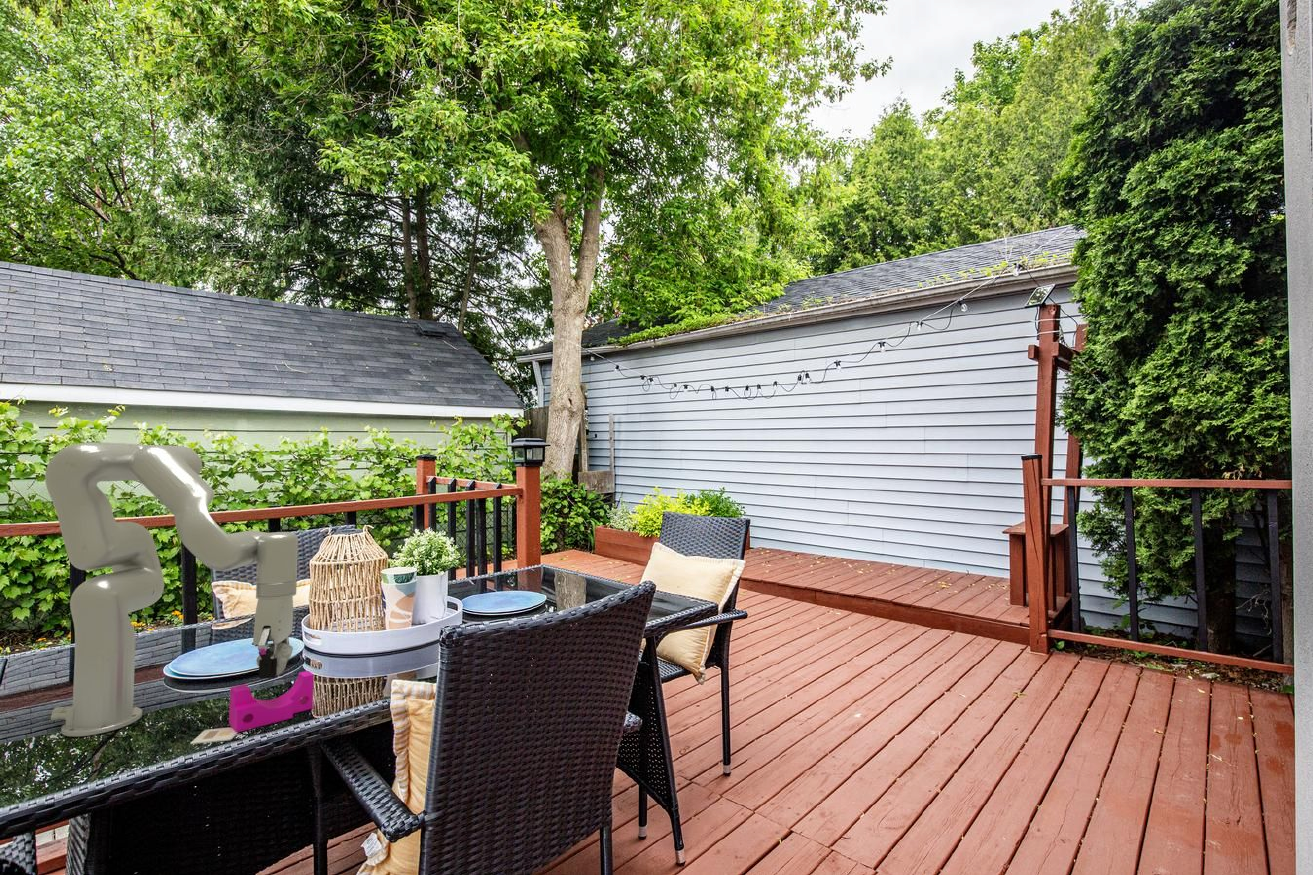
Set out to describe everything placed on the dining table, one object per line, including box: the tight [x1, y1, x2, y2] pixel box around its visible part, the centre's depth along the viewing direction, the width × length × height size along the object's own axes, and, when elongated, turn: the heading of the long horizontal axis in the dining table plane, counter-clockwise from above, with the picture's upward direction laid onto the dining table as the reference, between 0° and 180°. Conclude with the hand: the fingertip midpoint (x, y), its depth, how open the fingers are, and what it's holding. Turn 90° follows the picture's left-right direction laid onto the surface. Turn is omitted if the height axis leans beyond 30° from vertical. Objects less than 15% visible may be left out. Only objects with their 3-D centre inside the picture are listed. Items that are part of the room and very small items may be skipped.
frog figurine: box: [256, 642, 294, 677], centre depth 131 cm, size 6×7×7 cm
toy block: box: [228, 670, 315, 734], centre depth 130 cm, size 15×6×8 cm, turn 137°
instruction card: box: [189, 726, 239, 745], centre depth 122 cm, size 7×6×1 cm
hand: (274, 670), depth 130 cm, fingers open, 6 cm apart
